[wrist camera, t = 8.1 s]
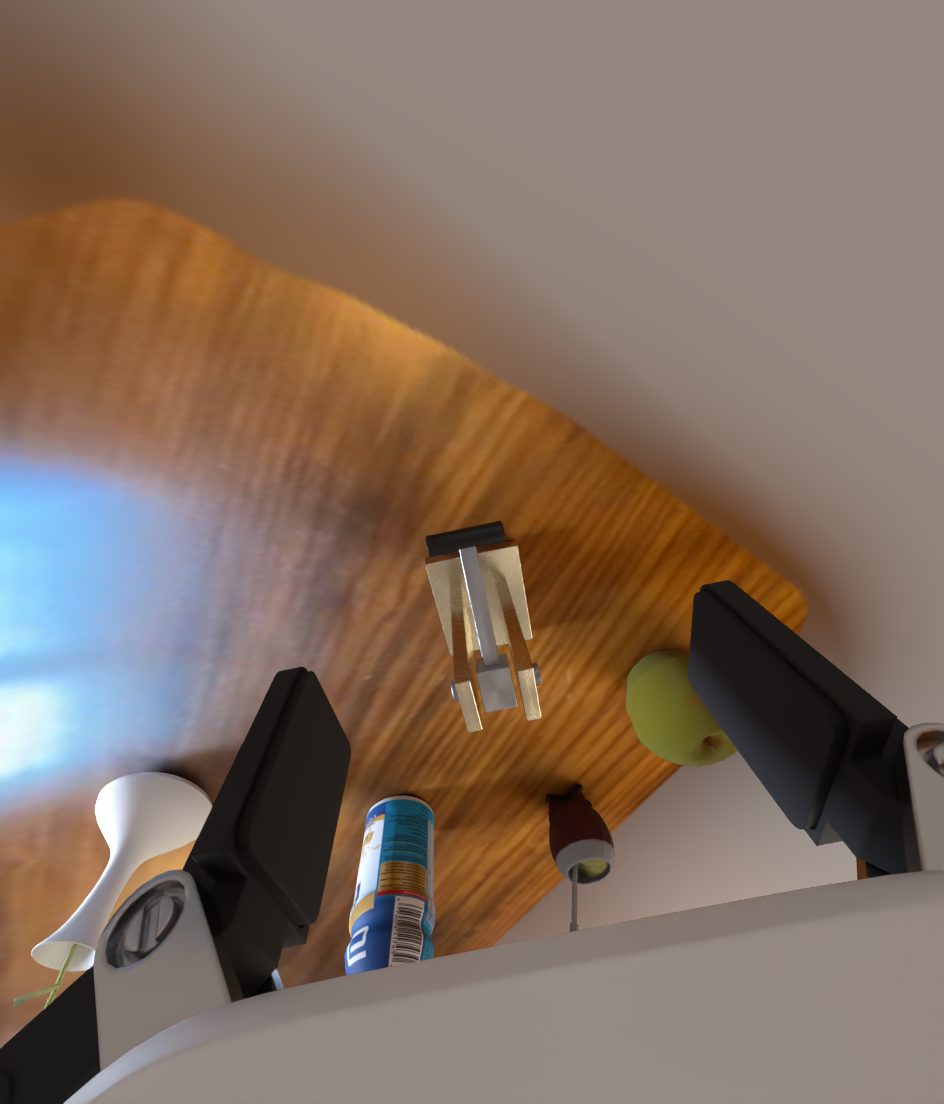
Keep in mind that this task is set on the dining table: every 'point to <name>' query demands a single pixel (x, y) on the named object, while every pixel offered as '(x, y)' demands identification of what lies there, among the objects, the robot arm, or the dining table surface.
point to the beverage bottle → (393, 888)
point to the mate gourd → (579, 842)
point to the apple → (673, 712)
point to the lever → (480, 609)
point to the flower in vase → (124, 858)
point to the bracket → (506, 618)
